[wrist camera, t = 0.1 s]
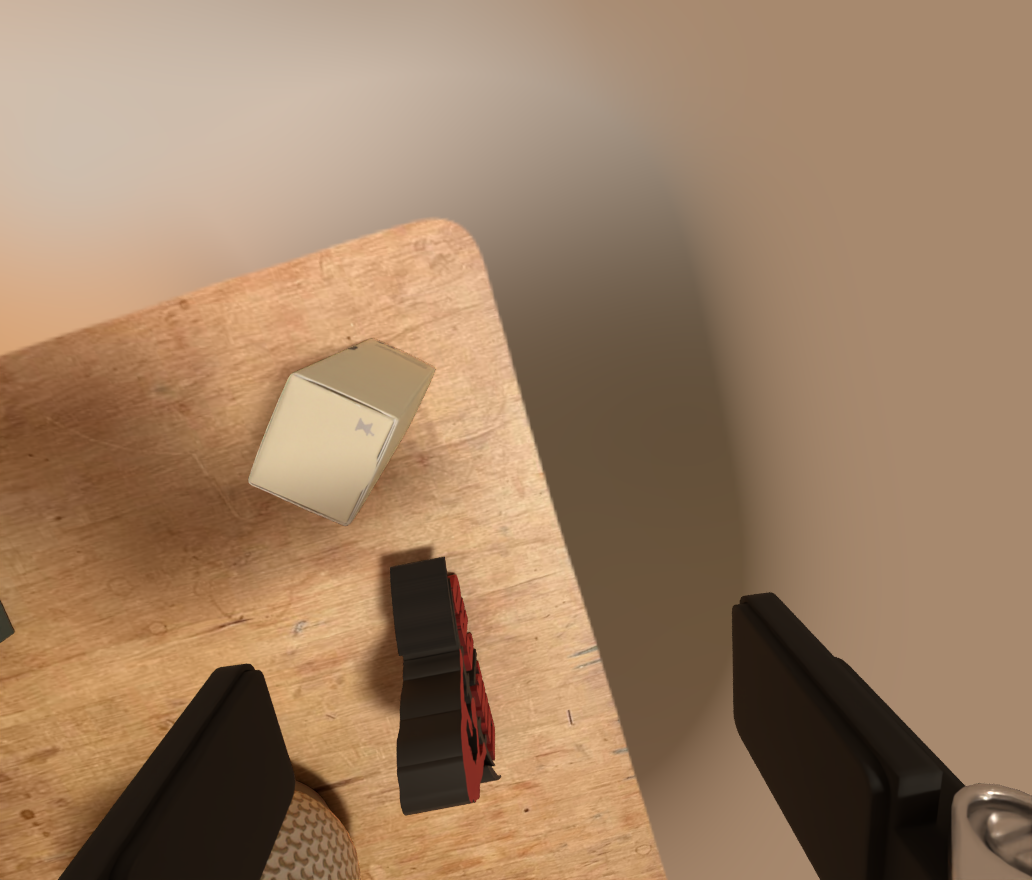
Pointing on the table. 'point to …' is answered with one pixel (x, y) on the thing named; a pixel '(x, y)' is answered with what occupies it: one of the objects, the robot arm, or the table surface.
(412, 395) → the box
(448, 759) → the extruded letter emblem
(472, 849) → the table surface
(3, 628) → the green stepped block
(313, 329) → the table surface
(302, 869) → the planter
